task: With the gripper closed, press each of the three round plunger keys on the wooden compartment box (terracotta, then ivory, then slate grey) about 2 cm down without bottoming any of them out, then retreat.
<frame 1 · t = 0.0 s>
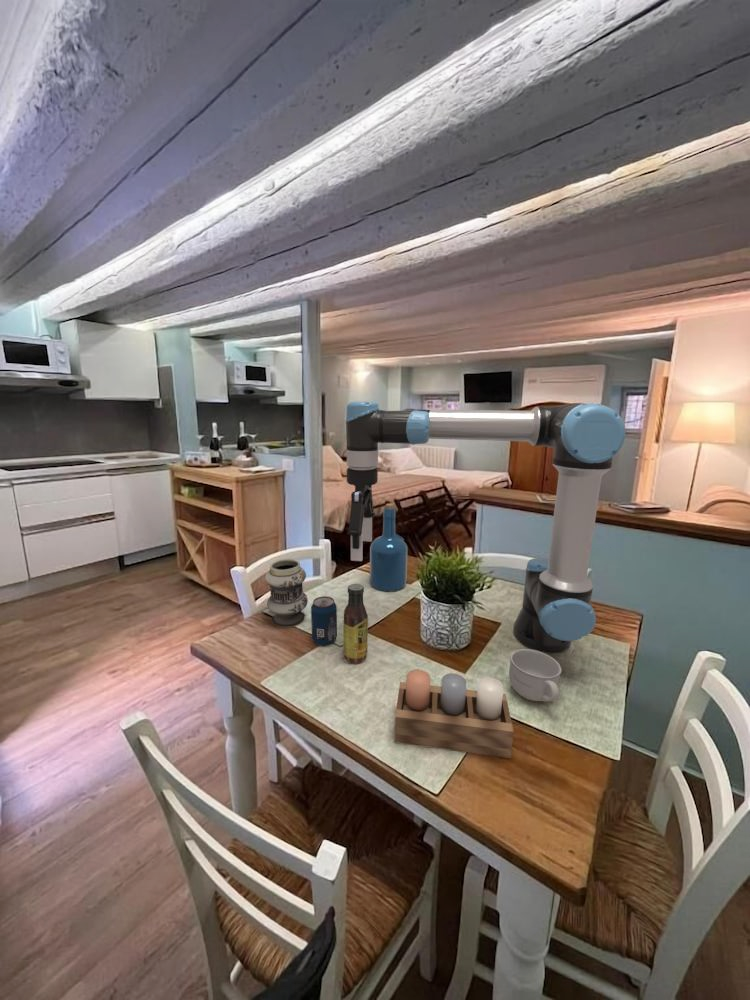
hand: (362, 550, 103), 28 cm above the table, fingers open, 13 cm apart
soda can: (324, 641, 113), on the table
terracotta key: (417, 690, 82), point 8 cm above the table, slide at 0.0 cm
wine bottle: (388, 584, 147), on the table
ivory key: (489, 698, 80), point 8 cm above the table, slide at 0.0 cm
apothecary jar: (288, 619, 124), on the table
slate key: (453, 694, 81), point 8 cm above the table, slide at 0.0 cm
teacup: (534, 697, 93), on the table
wooden compartment box: (450, 729, 83), on the table
sauce bottle: (355, 658, 106), on the table
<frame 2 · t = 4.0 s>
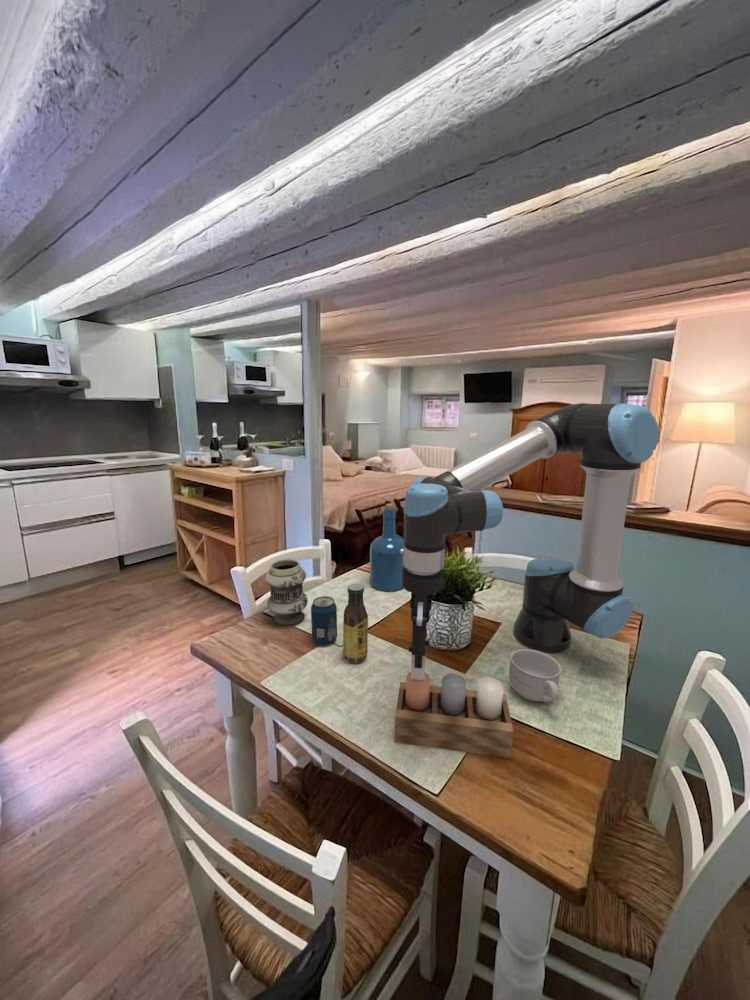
hand: (417, 677, 81), 12 cm above the table, fingers closed
terracotta key: (417, 691, 82), point 8 cm above the table, slide at 0.2 cm, touching gripper
everything else where it was.
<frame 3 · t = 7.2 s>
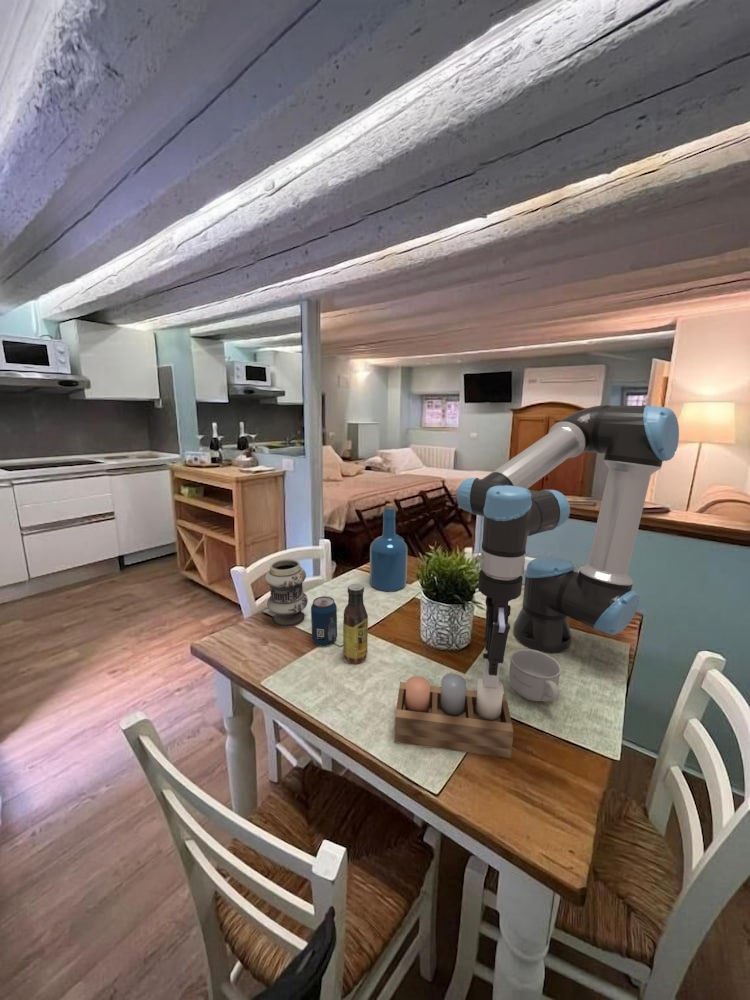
hand: (490, 684, 79), 12 cm above the table, fingers closed
terracotta key: (417, 696, 82), point 7 cm above the table, slide at 1.6 cm
ivory key: (489, 698, 80), point 8 cm above the table, slide at 0.0 cm, touching gripper
everything else where it was.
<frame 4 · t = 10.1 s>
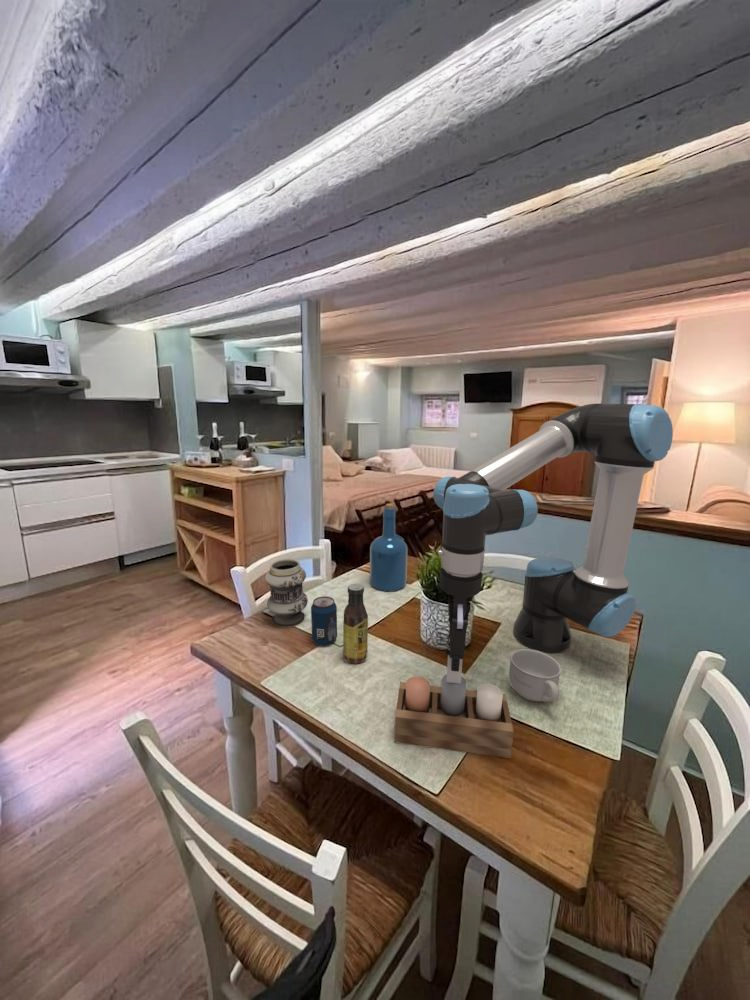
hand: (453, 680, 80), 12 cm above the table, fingers closed
ivory key: (488, 705, 80), point 7 cm above the table, slide at 1.6 cm
slate key: (453, 694, 81), point 8 cm above the table, slide at 0.0 cm, touching gripper
everything else where it was.
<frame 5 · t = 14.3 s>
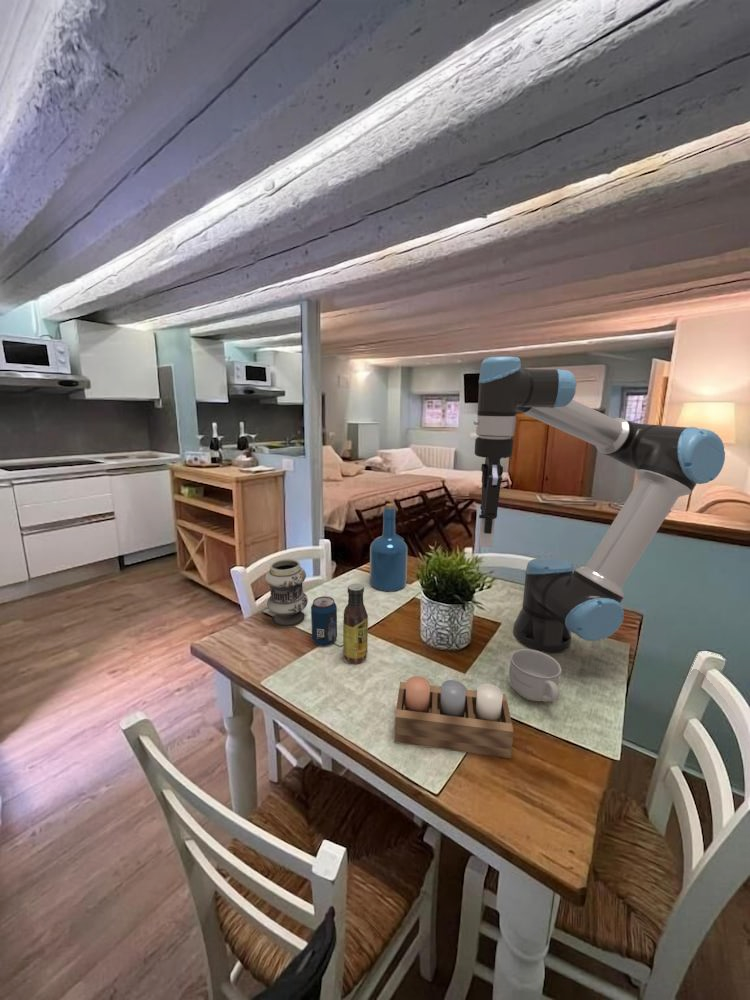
hand: (485, 545, 89), 34 cm above the table, fingers closed
slate key: (452, 701, 81), point 7 cm above the table, slide at 1.6 cm
everything else where it was.
at the end: terracotta key slide at 1.6 cm; ivory key slide at 1.6 cm; slate key slide at 1.6 cm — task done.
